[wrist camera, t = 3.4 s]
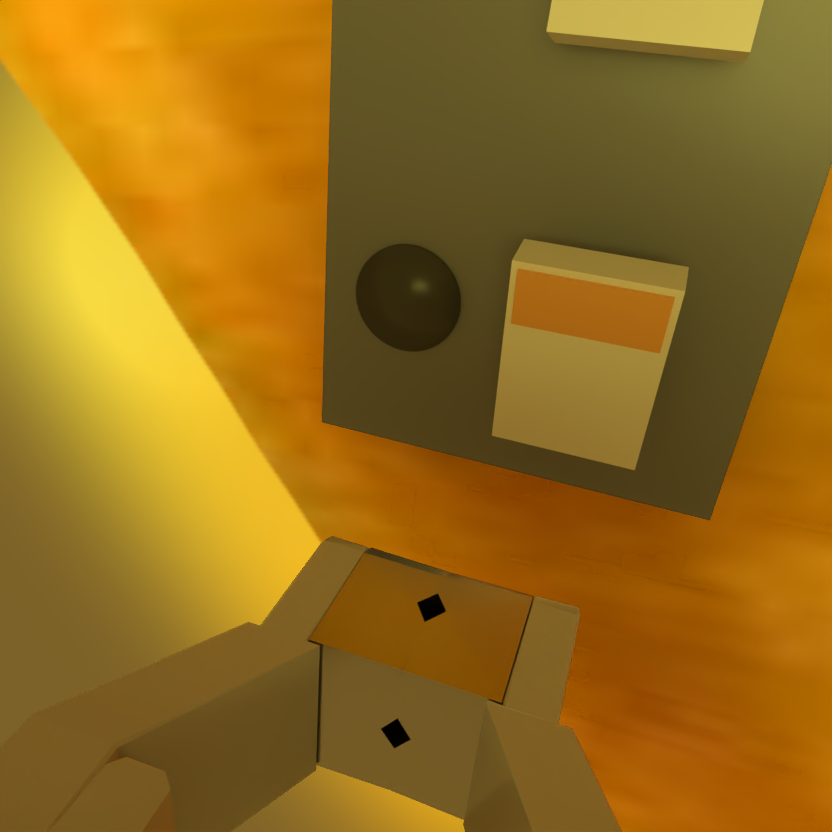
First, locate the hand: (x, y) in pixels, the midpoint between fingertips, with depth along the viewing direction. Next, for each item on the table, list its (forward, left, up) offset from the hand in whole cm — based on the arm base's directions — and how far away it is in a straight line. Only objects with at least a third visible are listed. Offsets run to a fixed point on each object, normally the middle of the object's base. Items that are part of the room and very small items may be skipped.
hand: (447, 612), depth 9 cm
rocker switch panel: (+3, +2, -19) cm, 19 cm away
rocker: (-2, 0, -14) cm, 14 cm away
